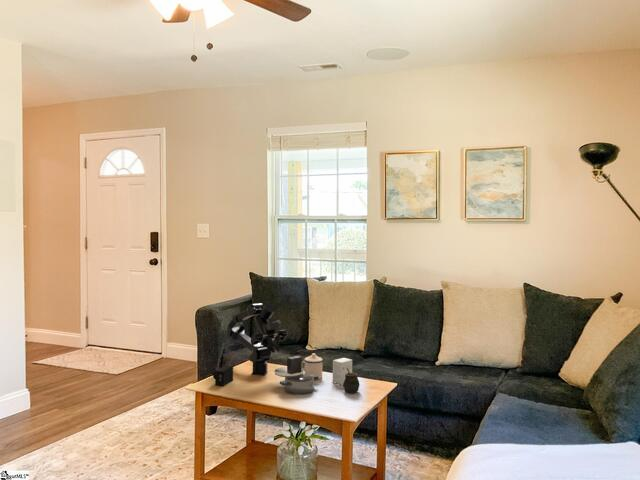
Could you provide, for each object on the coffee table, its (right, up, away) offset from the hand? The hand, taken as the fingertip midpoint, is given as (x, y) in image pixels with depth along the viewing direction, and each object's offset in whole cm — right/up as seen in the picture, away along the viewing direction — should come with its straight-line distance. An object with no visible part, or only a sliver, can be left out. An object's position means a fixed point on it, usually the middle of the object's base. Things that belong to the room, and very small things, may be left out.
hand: (276, 351), depth 259 cm
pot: (+11, -14, -14) cm, 23 cm away
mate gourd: (+34, -15, -15) cm, 40 cm away
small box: (+31, -14, 0) cm, 34 cm away
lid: (+6, -8, -8) cm, 13 cm away
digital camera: (-24, -14, -5) cm, 28 cm away
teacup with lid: (+16, -14, +7) cm, 22 cm away
